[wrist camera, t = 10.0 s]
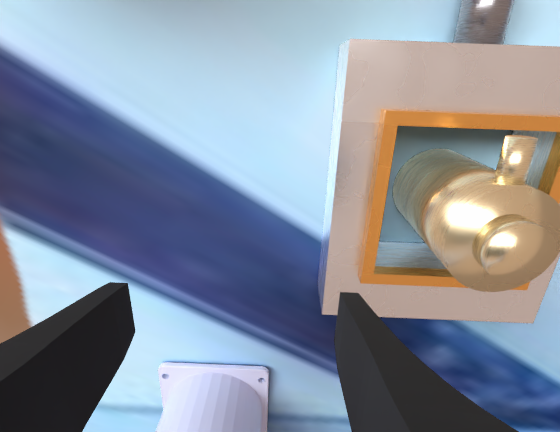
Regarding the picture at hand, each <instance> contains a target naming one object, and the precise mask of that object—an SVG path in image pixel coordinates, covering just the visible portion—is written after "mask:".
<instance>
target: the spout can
mask: <svg viewBox="0 0 560 432" xmlns="http://www.w3.org/2000/svg"><path fill="white" fill-rule="evenodd" d="M537 141H538V138H536V137H531V136H522V135H506V136H505V138H504V142H503V146H502V150H501V153H500V157H499V161H498V165H497V169H496V170H494V169H492V168H490V167H487V166H485V165H483V164H481V163H479V162H476V161H474V160H472V159H470V158H468V157H465V156H463V155H461V154H459V153H457V152H454V151H452V150H448V149H441V148H439V149H430V150H426V151H423V152H421V153H419V154H417V155H415V156H413V157H412V158H411V159H409V160H408V161H407V162H406V163H405V164H404V165H403V166H402V168H401V169H400V170H399V172H398V174H397V176H396V178H395V181H394V185H393V199H394V202H395V205H396V207H397V209H398V210H399V211H400V213H401V214H402V215H403V216H404V218H405V219H406V220H407V221H408V222H409V224H410V225H411V226H412V227H413V228H414V230H415V231H416V232H417V233H418V235H419V236H420V237H421V238H422V239H423V241H424V242H425V243H426V244H427V245H428V247H429V248H430V249H431V250H432V251H433V253H434V254H435V255H436V256H437V258H438V259H439V260H440V261H441V262H442V264H443V265H444V266H445V267H446V268H447V270H448V271H449V272H450V273H451V274H452V276H453V277H454V278H455V279H456V280H457V281H458V282H460V283H461V284H463V285H464V286H466V287H468V288H471V289H474V290H477V291H483V292H499V291H506V290H510V289H513V288H516V287H519V286H522V285H524V284H526V283H528V282H530V281H531V280H533V279H535V278H536V277H538V276H539V275H540V274H542V273H543V272H544V271H545V270H546V269H547V268H548V267H549V266H550V265H551V264H552V263H553V261H554V260H555V259H556V257H557V256H558V254H559V252H560V205H559V204H558V203H557V201H556V200H555V199H553V198H552V197H551V196H550V195H548V194H546V193H544V192H542V191H540V190H538V189H536V188H534V187H531V186H529V185H527V184H525V182H526V178H527V175H528V172H529V168H530V165H531V161H532V158H533V155H534V151H535V148H536V145H537Z"/></svg>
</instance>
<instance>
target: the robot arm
mask: <svg viewBox="0 0 560 432" xmlns="http://www.w3.org/2000/svg"><path fill="white" fill-rule="evenodd" d="M134 334H135V326H134V320H133V313H132V307H131V301H130V295H129V289H128V283H111V282H110V283H108V284H106V285H104V286H102V287H100V288H98V289H97V290H95V291H93V292H91V293H90V294H88V295H86V296H85V297H83V298H81V299H80V300H78V301H76V302H75V303H73V304H71V305H70V306H68V307H66V308H64V309H63V310H61V311H59V312H58V313H56V314H54V315H53V316H51V317H49V318H47V319H45V320H44V321H42V322H40V323H38V324H36V325H35V326H33V327H31V328H29V329H27V330H26V331H24V332H22V333H20V334H18V335H16V336H15V337H12V338H11V339H9V340H7V341H5V342H3V343H1V344H0V432H82V431H83V429H84V427H85V425H86V423H87V422H88V420H89V418H90V417H91V415H92V413H93V411H94V410H95V408H96V406H97V405H98V403H99V401H100V400H101V398H102V396H103V394H104V393H105V391H106V389H107V388H108V386H109V384H110V383H111V381H112V379H113V377H114V376H115V374H116V372H117V370H118V369H119V367H120V365H121V363H122V361H123V360H124V358H125V355H126V353H127V351H128V348H129V346H130V344H131V341H132V339H133V336H134ZM334 342H335V352H336V361H337V369H338V374H339V378H340V383H341V387H342V391H343V396H344V400H345V404H346V409H347V413H348V417H349V422H350V426H351V430H352V432H518V431H517V430H515V429H513V428H512V427H510V426H509V425H507V424H505V423H504V422H502V421H501V420H499V419H497V418H496V417H494V416H493V415H491V414H490V413H488V412H487V411H485V410H484V409H482V408H481V407H479V406H478V405H477V404H475V403H474V402H472V401H471V400H470V399H468V398H467V397H466V396H464V395H463V394H461V393H460V392H459V391H457V390H456V389H455V388H453V387H452V386H451V385H449V384H448V383H447V382H446V381H444V380H443V379H442V378H441V377H440V376H438V375H437V374H436V373H435V372H434V371H432V370H431V369H430V368H429V367H428V366H426V365H425V364H424V363H423V362H422V361H421V360H420V359H419V358H417V357H416V356H415V355H414V354H413V353H412V352H411V351H410V350H409V349H408V348H407V347H406V346H405V345H404V344H403V343H402V342H401V341H400V340H399V339H398V338H397V337H396V336H395V335H394V334H393V332H392V331H391V330H390V329H389V328H388V327H387V326H386V325H385V324H384V323H383V321H382V320H381V319H380V318H379V317H378V316H377V314H376V313H375V312H374V311H373V310H372V309H371V307H370V306H369V305H368V304H367V303H366V301H365V300H364V299H363V298H362V297H361V295H360V294H359V293H351V292H340V297H339V305H338V313H337V321H336V330H335V338H334ZM158 373H159V381H160V388H161V395H162V403H163V412H162V415H161V418H160V421H159V423H158V426H157V429H156V431H155V432H267V416H268V383H269V370H268V369H267V368H266V367H263V366H243V365H219V364H196V363H173V362H163V363H161V364H160V366H159V368H158ZM167 374H168V375H167ZM261 378H264V379H261Z"/></svg>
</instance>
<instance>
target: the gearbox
mask: <svg viewBox="0 0 560 432" xmlns="http://www.w3.org/2000/svg"><path fill="white" fill-rule="evenodd" d="M513 3H514V0H462V3H461V8H460V13H459V17H458V22H457V27H456V32H455V37H454V42H453V43H445V42H418V41H392V40H365V39H349V40H347V41H345V42H344V43H342V44H340V45H339V56H338V67H337V78H336V89H335V100H334V111H333V122H332V132H331V143H330V154H329V165H328V176H327V187H326V198H325V209H324V220H323V231H322V242H321V253H320V264H319V275H318V291H319V298H320V305H321V312H322V314H323V315H337V313H338V305H339V297H340V292H351V293H359V294H360V295H361V297H362V298H363V299H364V300H365V301H366V303H367V304H368V305H369V306H370V307H371V309H372V310H373V311H374V312H375V313H376V314H377V316H378V317H395V318H419V319H442V320H466V321H490V322H514V323H533V322H534V319H535V317H536V314H537V312H538V309H539V307H540V304H541V302H542V299H543V297H544V294H545V292H546V289H547V287H548V284H549V282H550V279H551V277H552V274H553V272H554V269H555V267H556V264H557V262H558V259H559V257H560V252H559V254H558V256H557V257H556V259H555V260H554V261H553V263H552V264H551V265H550V266H549V267H548V268H547V269H546V270H545V271H544V272H543V273H542V274H540V275H539V276H538V277H536V278H535V279H533V280H531V281H530V282H528V283H526V284H524V285H522V286H519V287H516V288H513V289H510V290H506V291H499V292H483V291H477V290H474V289H471V288H468V287H466V286H464V285H463V284H461V283H460V282H458V281H457V280H456V279H455V278H454V277H453V276H452V274H451V273H450V272H449V271H448V270H447V268H446V267H445V266H444V265H443V264H442V262H441V261H440V260H439V259H438V258H437V256H436V255H435V254H434V253H433V251H432V250H431V249H430V248H429V247H428V245H427V244H426V243H404V242H379V238H380V232H381V226H382V220H383V214H384V208H385V201H386V195H387V189H388V183H389V177H390V171H391V165H392V159H393V153H394V146H395V140H396V134H397V128H398V126H422V127H447V128H473V129H499V130H513V134H512V135H522V136H531V137H536V138H538V141H537V145H536V148H535V151H534V155H533V158H532V161H531V165H530V168H529V172H528V175H527V178H526V182H525V184H527V185H529V186H531V187H534V188H536V189H538V190H540V191H542V192H544V193H546V194H548V195H550V196H551V197H552V198H553V199H555V200H556V201H557V203H558V204H559V205H560V47H552V46H525V45H503V42H504V38H505V34H506V30H507V26H508V23H509V19H510V15H511V11H512V7H513Z"/></svg>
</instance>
